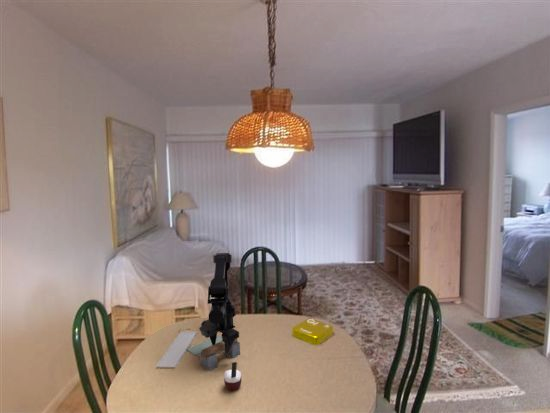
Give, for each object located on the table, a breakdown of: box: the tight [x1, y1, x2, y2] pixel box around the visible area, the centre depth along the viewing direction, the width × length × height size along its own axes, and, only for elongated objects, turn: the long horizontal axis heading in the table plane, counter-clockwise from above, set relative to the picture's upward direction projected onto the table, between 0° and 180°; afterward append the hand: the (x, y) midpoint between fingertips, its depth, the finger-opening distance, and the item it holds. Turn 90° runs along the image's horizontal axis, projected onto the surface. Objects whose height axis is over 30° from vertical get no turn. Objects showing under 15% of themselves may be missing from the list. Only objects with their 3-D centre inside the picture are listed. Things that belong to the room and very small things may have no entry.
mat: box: [186, 335, 223, 357], centre depth 153 cm, size 17×7×1 cm, turn 136°
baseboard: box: [154, 328, 198, 370], centre depth 150 cm, size 30×3×10 cm
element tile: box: [291, 318, 334, 346], centre depth 161 cm, size 15×15×5 cm
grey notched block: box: [199, 351, 218, 372], centre depth 136 cm, size 4×6×6 cm, turn 46°
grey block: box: [223, 341, 241, 359], centre depth 145 cm, size 4×6×6 cm, turn 46°
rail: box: [202, 338, 239, 360], centre depth 140 cm, size 16×3×3 cm, turn 136°
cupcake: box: [223, 361, 242, 391], centre depth 122 cm, size 10×6×12 cm, turn 175°
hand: (220, 349), depth 140 cm, fingers open, 9 cm apart
